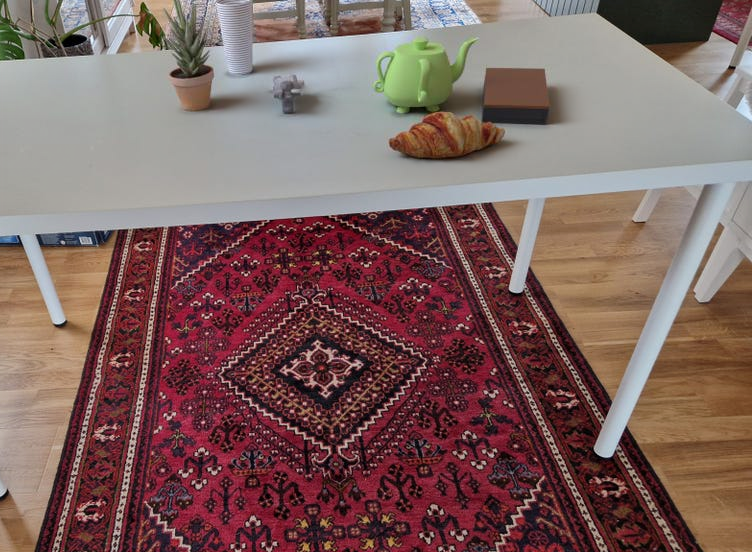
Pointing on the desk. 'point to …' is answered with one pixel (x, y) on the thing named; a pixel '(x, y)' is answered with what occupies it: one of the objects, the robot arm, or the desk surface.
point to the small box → (513, 114)
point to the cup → (236, 34)
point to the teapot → (420, 74)
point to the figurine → (286, 90)
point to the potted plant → (190, 62)
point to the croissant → (446, 136)
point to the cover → (516, 88)
